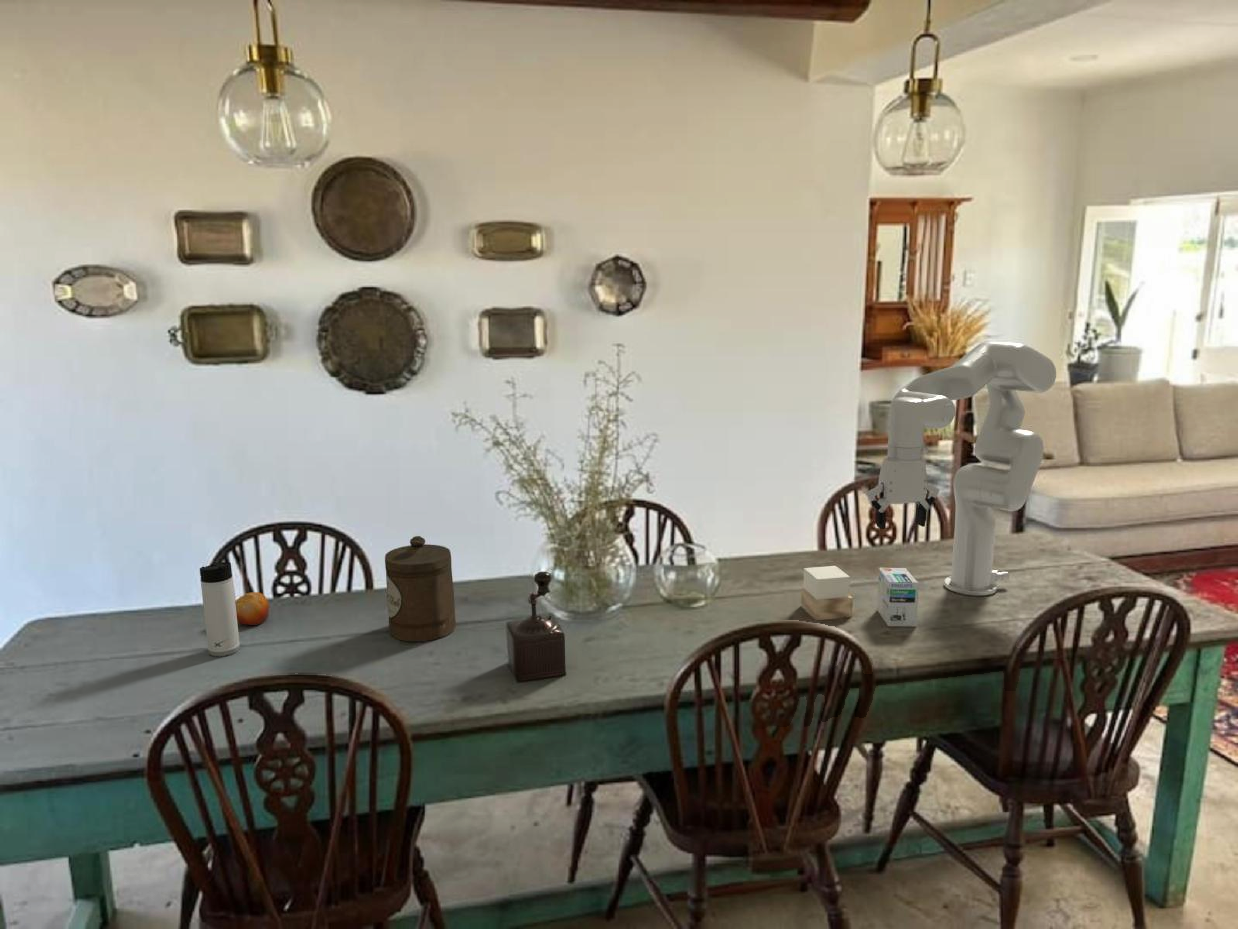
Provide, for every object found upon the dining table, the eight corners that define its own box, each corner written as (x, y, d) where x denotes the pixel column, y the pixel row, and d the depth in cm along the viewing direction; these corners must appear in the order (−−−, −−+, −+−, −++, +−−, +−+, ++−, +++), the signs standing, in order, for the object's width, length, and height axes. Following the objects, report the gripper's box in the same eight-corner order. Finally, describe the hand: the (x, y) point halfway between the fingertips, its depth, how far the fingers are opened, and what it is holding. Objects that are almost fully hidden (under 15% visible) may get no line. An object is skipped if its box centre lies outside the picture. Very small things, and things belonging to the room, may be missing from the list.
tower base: (835, 604, 227) (836, 584, 226) (851, 617, 218) (852, 597, 217) (800, 607, 225) (801, 587, 224) (815, 621, 217) (816, 600, 216)
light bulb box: (917, 627, 212) (920, 582, 210) (887, 627, 212) (890, 582, 210) (904, 609, 222) (906, 566, 220) (875, 609, 223) (878, 566, 220)
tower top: (834, 585, 225) (835, 565, 224) (848, 597, 218) (849, 576, 217) (803, 588, 224) (804, 568, 223) (816, 599, 216) (817, 579, 215)
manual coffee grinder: (570, 676, 189) (568, 592, 185) (516, 683, 186) (513, 598, 182) (552, 646, 204) (550, 567, 200) (502, 652, 200) (499, 573, 196)
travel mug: (221, 659, 198) (212, 570, 194) (202, 653, 201) (192, 564, 197) (247, 649, 203) (238, 561, 199) (228, 643, 207) (218, 556, 202)
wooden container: (394, 618, 220) (388, 528, 215) (458, 615, 221) (453, 526, 216) (384, 644, 205) (378, 548, 201) (452, 641, 207) (448, 546, 202)
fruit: (283, 610, 221) (267, 588, 216) (263, 637, 216) (247, 615, 211) (258, 605, 225) (242, 584, 219) (238, 631, 220) (220, 610, 214)
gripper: (931, 447, 214) (927, 519, 218) (861, 451, 211) (857, 524, 215) (949, 454, 207) (944, 528, 211) (876, 458, 204) (872, 533, 207)
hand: (900, 526), depth 213 cm, fingers open, 9 cm apart
